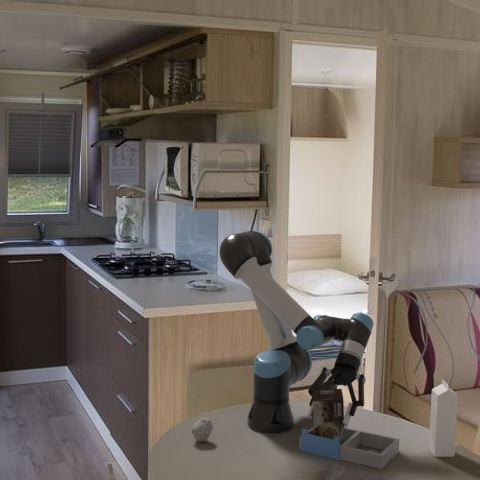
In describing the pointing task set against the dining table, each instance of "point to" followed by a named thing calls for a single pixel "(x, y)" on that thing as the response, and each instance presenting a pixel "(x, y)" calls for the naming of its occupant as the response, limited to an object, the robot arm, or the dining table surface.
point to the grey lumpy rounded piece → (202, 429)
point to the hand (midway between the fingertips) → (327, 420)
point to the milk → (443, 421)
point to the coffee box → (329, 413)
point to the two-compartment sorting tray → (351, 447)
